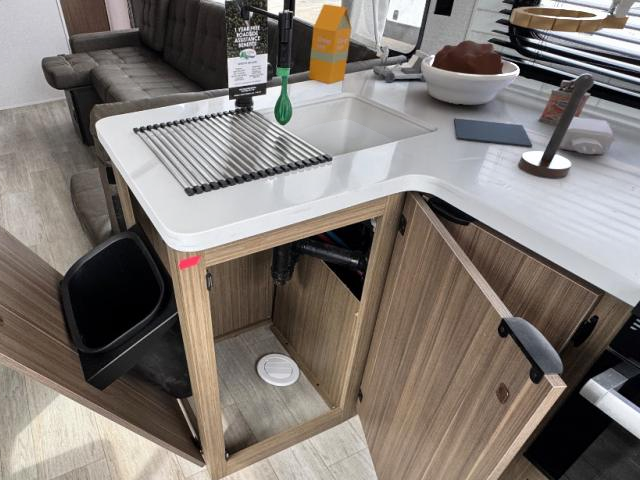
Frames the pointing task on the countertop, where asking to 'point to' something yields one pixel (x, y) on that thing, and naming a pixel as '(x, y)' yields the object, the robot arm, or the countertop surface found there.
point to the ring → (564, 19)
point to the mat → (491, 132)
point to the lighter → (560, 103)
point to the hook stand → (557, 138)
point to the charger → (588, 136)
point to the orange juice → (330, 45)
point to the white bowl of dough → (467, 73)
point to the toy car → (400, 66)
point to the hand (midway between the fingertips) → (615, 16)
